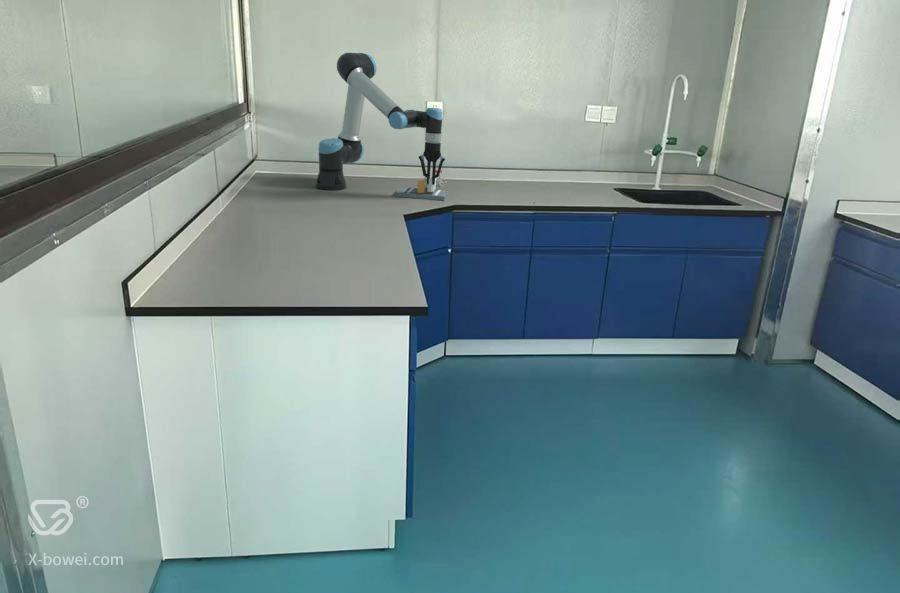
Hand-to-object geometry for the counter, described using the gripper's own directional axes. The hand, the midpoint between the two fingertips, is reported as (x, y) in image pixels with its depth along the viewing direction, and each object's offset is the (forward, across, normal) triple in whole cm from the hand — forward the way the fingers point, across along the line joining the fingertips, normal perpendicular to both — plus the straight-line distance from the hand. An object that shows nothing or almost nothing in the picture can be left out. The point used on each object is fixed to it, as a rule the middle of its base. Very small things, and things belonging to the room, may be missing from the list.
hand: (430, 191), depth 307 cm
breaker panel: (+3, -4, +4) cm, 7 cm away
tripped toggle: (+1, -5, 0) cm, 5 cm away
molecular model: (+4, 0, +23) cm, 23 cm away
